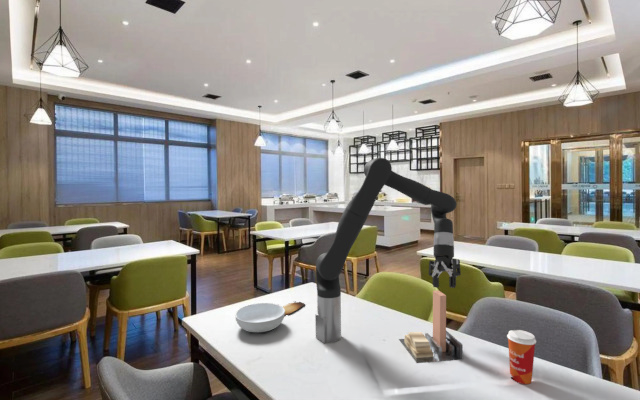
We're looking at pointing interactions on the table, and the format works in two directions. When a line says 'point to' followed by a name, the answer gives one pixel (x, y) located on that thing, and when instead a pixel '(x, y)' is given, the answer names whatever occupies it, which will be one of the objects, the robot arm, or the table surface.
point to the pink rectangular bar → (439, 319)
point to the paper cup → (521, 355)
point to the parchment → (292, 307)
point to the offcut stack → (418, 344)
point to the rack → (440, 350)
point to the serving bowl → (260, 317)
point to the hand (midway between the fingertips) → (443, 287)
